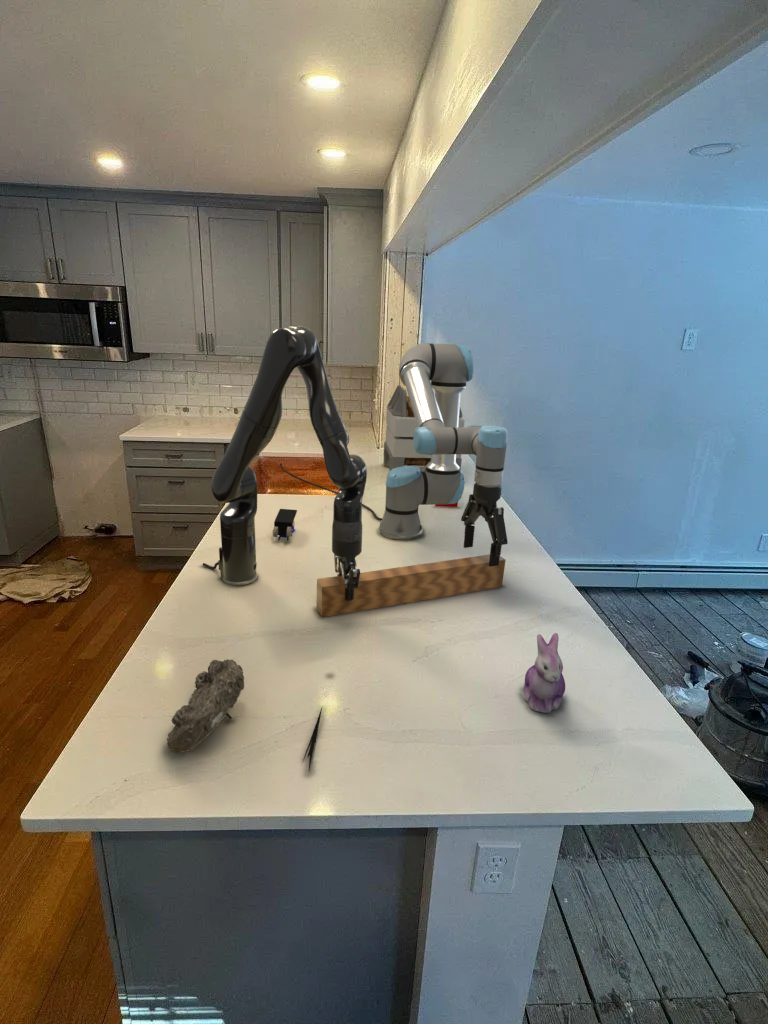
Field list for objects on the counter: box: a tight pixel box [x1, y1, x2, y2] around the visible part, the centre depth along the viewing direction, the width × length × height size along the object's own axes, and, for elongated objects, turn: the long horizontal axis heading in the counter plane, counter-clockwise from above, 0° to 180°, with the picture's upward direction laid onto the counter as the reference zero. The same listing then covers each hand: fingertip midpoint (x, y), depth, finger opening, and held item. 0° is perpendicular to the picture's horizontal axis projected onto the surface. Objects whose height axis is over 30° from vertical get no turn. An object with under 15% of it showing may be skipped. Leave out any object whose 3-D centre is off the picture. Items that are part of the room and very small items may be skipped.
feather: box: [301, 673, 332, 771], centre depth 108 cm, size 2×28×2 cm
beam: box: [316, 553, 506, 618], centre depth 155 cm, size 54×5×9 cm, turn 113°
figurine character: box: [272, 508, 298, 542], centre depth 192 cm, size 7×8×15 cm
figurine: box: [523, 632, 566, 714], centre depth 114 cm, size 9×10×15 cm
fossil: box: [166, 658, 245, 754], centre depth 106 cm, size 22×10×15 cm
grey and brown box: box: [383, 384, 465, 472], centre depth 268 cm, size 34×33×41 cm
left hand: (345, 595), depth 148 cm, fingers closed on beam, 4 cm apart
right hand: (480, 556), depth 160 cm, fingers open, 13 cm apart
